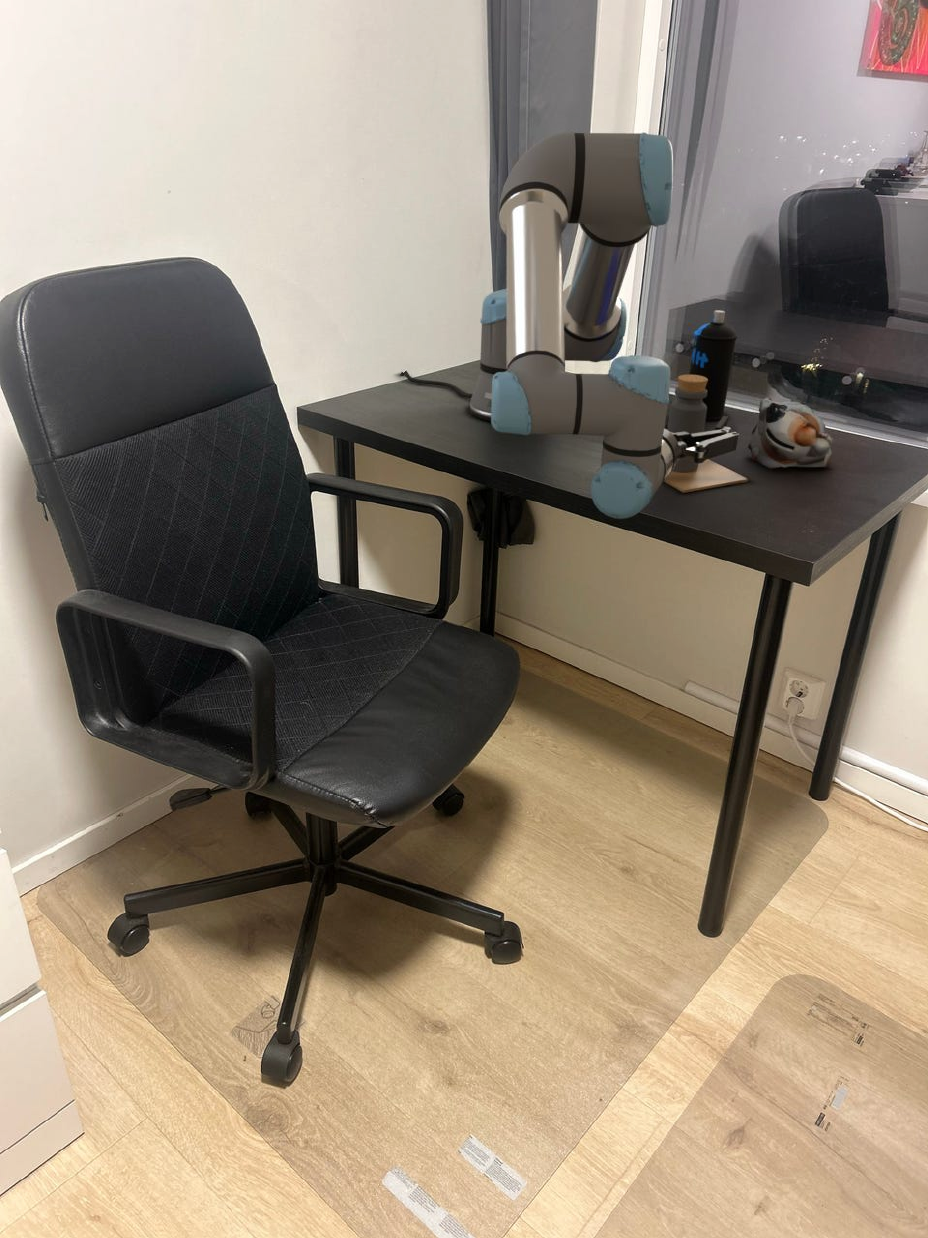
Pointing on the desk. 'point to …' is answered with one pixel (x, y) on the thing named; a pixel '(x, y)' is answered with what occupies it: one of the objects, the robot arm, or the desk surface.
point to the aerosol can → (714, 362)
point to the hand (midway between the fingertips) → (681, 418)
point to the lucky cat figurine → (789, 436)
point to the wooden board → (703, 477)
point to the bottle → (688, 413)
